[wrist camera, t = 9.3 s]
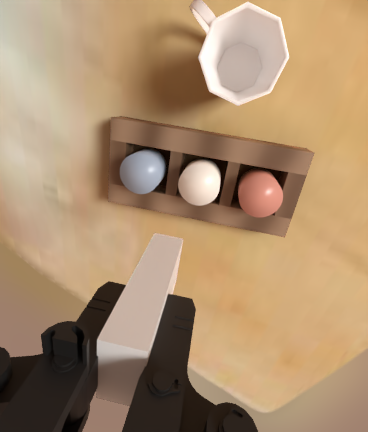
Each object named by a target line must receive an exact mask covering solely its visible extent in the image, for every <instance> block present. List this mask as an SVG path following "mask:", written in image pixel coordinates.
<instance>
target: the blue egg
mask: <svg viewBox="0 0 368 432" xmlns="http://www.w3.org/2000/svg"><path fill="white" fill-rule="evenodd" d="M166 173H167V162H166V160H165V158H164V156H163V155H162V154H161V153H160V152H159V151H157V150H155V149H152V148H144V149H141V150H139V151H137V152H135V153H134V154H132V155H130V156H128V157H126V158H125V159H124V160H123V162H122V164H121V166H120V178H121V180H122V182H123V184H124V185H125V187H126V188H127V189H129V190H130V191H132V192H134V193H137V194H146V193H149V192H151V191H152V190H154V189H155V188H156V186H157V185H158V184H159V183H160V182H161V181H162V180H163V178H164V177H165V175H166Z"/></svg>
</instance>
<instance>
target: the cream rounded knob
mask: <svg viewBox="0 0 368 432" xmlns="http://www.w3.org/2000/svg"><path fill="white" fill-rule="evenodd" d="M220 181H221V173H220V169H219V167H218V166H217V165H216V163H215V162H213V161H212V160H210V159H207V158H198V159H195V160H193V161H191V162H190V163H189V164H188V165H187V167H186V168H185V170H184V171H183V173H182V174H181V176H180V178H179V182H178V188H179V192H180V194H181V196H182V197H183V198H184V199H185V200H186V201H187V202H188V203H190V204H193V205H198V206H201V205H206V204H209V203H211V202H212V201H213V200H214V199H215V198H216V197H217V195H218V193H219V190H220Z"/></svg>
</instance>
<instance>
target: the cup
mask: <svg viewBox="0 0 368 432" xmlns="http://www.w3.org/2000/svg"><path fill="white" fill-rule="evenodd" d="M190 10H191V11H192V13H193V15H194V16H195V18H196V19H197V21H198V22H199V24H200V25H201V27H202V28H203V30H204V31H205V32H206V34H207V36H206V38H205V41H204V44H203V46H202V49H201V51H200V54H199V56H198V58H199V62H200V65H201V68H202V71H203V74H204V77H205V80H206V83H207V87H208V90H209V92H211V93H213V94H215V95H217V96H219V97H221V98H223V99H225V100H227V101H229V102H231V103H234V104H236V105H238V106H239V105H241V104H244V103H246V102H249V101H251V100H253V99H256V98H258V97H261V96H263V95H266V94H268V93H271V91H272V89H273V87H274V85H275V83H276V81H277V79H278V77H279V76H280V74H281V72H282V70H283V68H284V66H285V64H286V62H287V60H288V58H289V54H288V49H287V45H286V40H285V36H284V31H283V27H282V22H281V18H279V17H277V16H275V15H273V14H271V13H269V12H267V11H265V10H263V9H261V8H259V7H257V6H255V5H253V4H251V3H249V2H246V3H244V4H242V5H240V6H238V7H237V8H235V9H233V10H231V11H229V12H227V13H225V14H223V15H221V16H219V17H217V18H216V16H215V15H214V14H213V13H212V11H211V10H210V9H209V8H208V6H207V5H206V4H205V3H204V2H203V1H202V0H194V1H193V2H192V3H191V5H190Z"/></svg>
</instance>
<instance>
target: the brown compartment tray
mask: <svg viewBox="0 0 368 432" xmlns="http://www.w3.org/2000/svg"><path fill="white" fill-rule="evenodd" d="M134 144H137V145H142V146H148V147H153V148H159V149H164V150H170V151H171V154H170V161H169V169H168V177H167V185H166V186H161V185H157V186H156V188H155V189H154V190H152V191H151V192H149V193H146V194H137V193H134V192H132V191H130V190H129V189H127V188H126V187H125V185H124V184H123V182H122V180H121V178H120V166H121V164H122V162H123V160H124V159H125V158H126V157H128V156H130V155H132V154H134ZM185 153H186V154H192V155H197V156H203V157H208V158H214V159H219V160H225V161H228V162H227V166H226V171H225V175H224V180H223V184H222V189H221V194H220V197H218V196H217V197H216V198H215V199H214V200H213V201H212V202H211V203H209V204H206V205H201V206H198V205H193V204H190V203H188V202H187V201H186V200H185V199H184V198H183V197H182V196H181V194H180V192H179V188H178V182H179V178H180V176H181V174H182V173H183V167H184V160H185ZM313 156H314V152H312V151H310V150H308V149H306V148H300V147H294V146H289V145H283V144H277V143H271V142H266V141H260V140H254V139H248V138H243V137H237V136H231V135H225V134H220V133H214V132H208V131H202V130H197V129H191V128H185V127H179V126H174V125H168V124H162V123H156V122H151V121H145V120H139V119H133V118H128V117H122V116H120V117H111V129H110V158H109V188H108V202H113V203H118V204H123V205H128V206H133V207H138V208H143V209H148V210H153V211H158V212H163V213H168V214H172V215H177V216H182V217H187V218H192V219H197V220H202V221H207V222H212V223H217V224H222V225H227V226H232V227H237V228H242V229H246V230H251V231H256V232H261V233H266V234H271V235H276V236H281V237H285V236H286V233H287V230H288V227H289V224H290V221H291V218H292V216H293V213H294V210H295V207H296V204H297V201H298V198H299V196H300V193H301V190H302V187H303V184H304V181H305V178H306V176H307V173H308V170H309V167H310V164H311V161H312V158H313ZM240 163H241V164H246V165H252V166H257V167H263V168H268V169H274V170H279V171H282V172H281V175H280V179H279V182H278V184H279V185H280V187H281V189H282V191H283V201H282V204H281V206H280V207H279V209H278V210H277V211H276V212H275V213H273V214H271V215H269V216H267V217H253V216H250V215H248V214H247V213H246V212H245V211H244V210H243V209H242V208H241V206H240V203H239V200H234V199H232V197H233V192H234V188H235V184H236V180H237V176H238V172H239V167H240Z"/></svg>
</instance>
